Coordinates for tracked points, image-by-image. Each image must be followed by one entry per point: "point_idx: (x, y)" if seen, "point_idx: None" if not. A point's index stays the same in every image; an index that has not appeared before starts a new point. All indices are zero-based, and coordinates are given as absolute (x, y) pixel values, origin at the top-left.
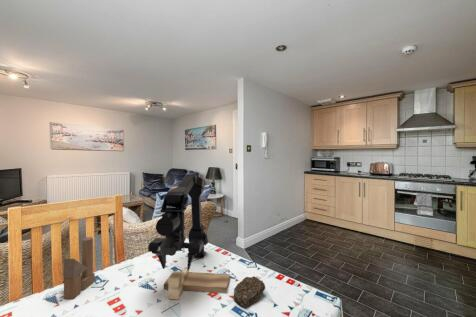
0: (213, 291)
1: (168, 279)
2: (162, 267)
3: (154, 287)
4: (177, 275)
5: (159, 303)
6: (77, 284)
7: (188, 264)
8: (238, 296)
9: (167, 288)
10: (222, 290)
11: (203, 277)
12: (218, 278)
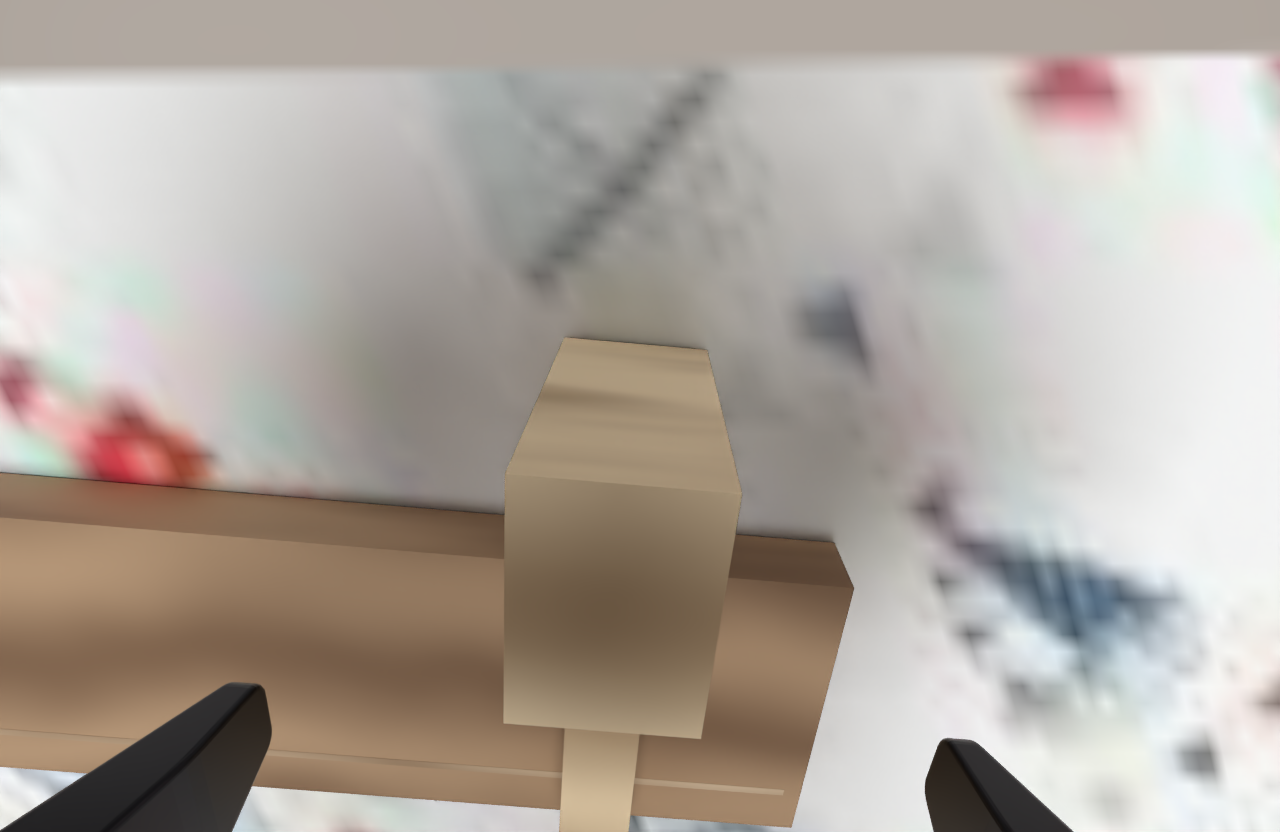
0: (134, 490)
1: (739, 485)
2: (1003, 770)
3: (968, 574)
4: (577, 607)
5: (809, 263)
6: None
7: (66, 829)
8: None
9: (783, 545)
10: None
11: (325, 710)
12: (107, 691)
